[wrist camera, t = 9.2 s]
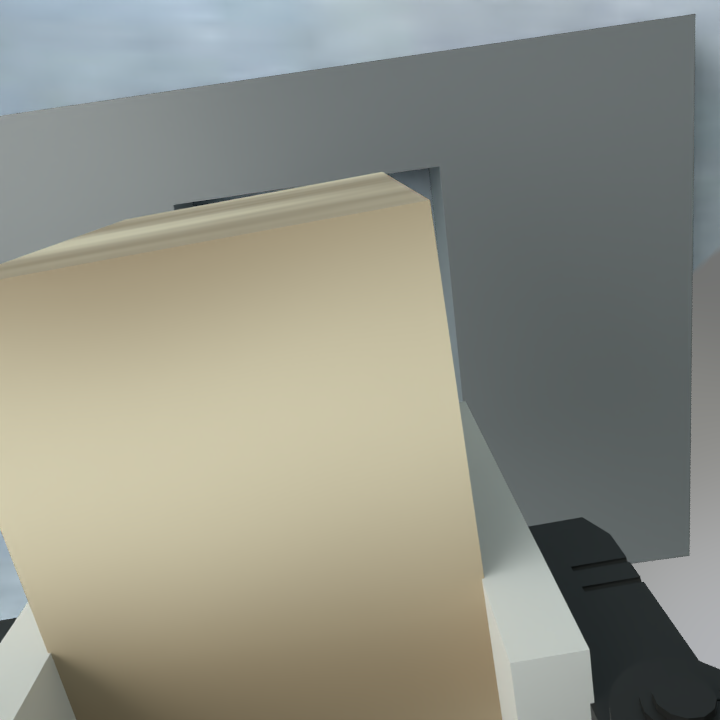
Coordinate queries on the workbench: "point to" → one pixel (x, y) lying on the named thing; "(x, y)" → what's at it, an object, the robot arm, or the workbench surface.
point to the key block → (246, 464)
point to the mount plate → (463, 231)
